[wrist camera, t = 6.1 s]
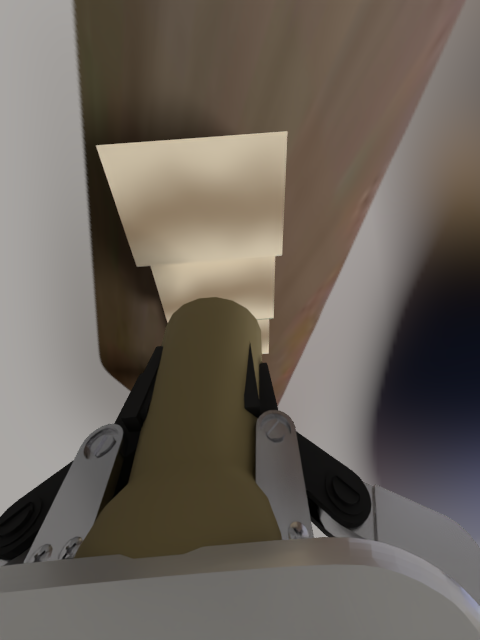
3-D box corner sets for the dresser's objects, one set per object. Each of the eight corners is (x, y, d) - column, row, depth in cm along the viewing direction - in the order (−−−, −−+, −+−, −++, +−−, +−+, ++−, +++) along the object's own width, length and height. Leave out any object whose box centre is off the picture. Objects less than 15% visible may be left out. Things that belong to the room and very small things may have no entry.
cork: (186, 382, 14) (103, 731, 5) (147, 310, 11) (-279, 878, 2) (268, 365, 14) (353, 714, 4) (251, 286, 11) (412, 867, 1)
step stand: (143, 165, 18) (95, 145, 11) (266, 156, 18) (287, 131, 11) (189, 348, 29) (178, 390, 22) (265, 341, 29) (276, 382, 22)
